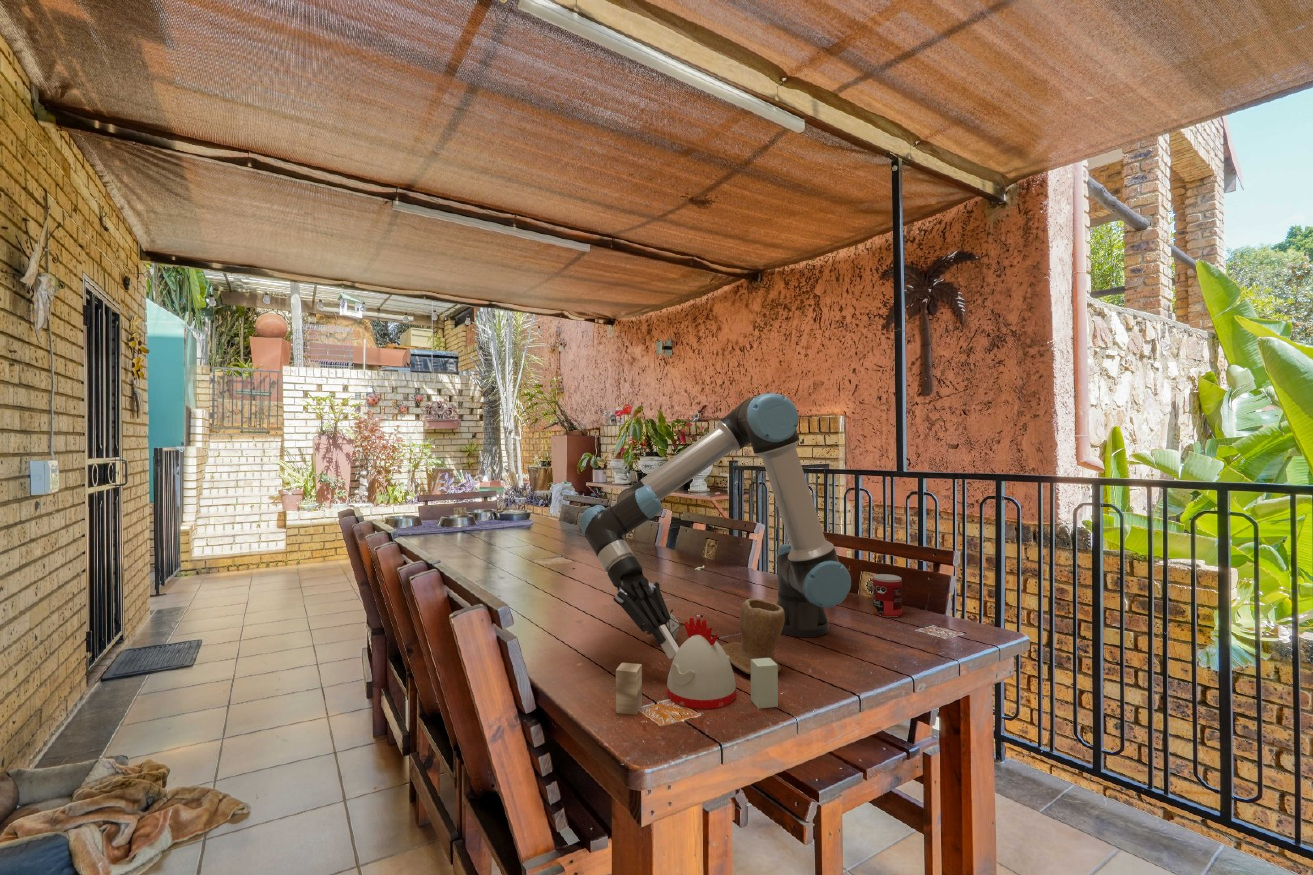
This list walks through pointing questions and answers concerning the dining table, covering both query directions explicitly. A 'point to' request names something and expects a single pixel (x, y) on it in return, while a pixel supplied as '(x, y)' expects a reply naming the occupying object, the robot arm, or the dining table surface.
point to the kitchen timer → (701, 671)
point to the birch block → (628, 688)
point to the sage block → (764, 683)
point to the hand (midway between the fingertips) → (674, 654)
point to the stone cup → (756, 633)
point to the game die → (673, 625)
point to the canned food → (887, 595)
